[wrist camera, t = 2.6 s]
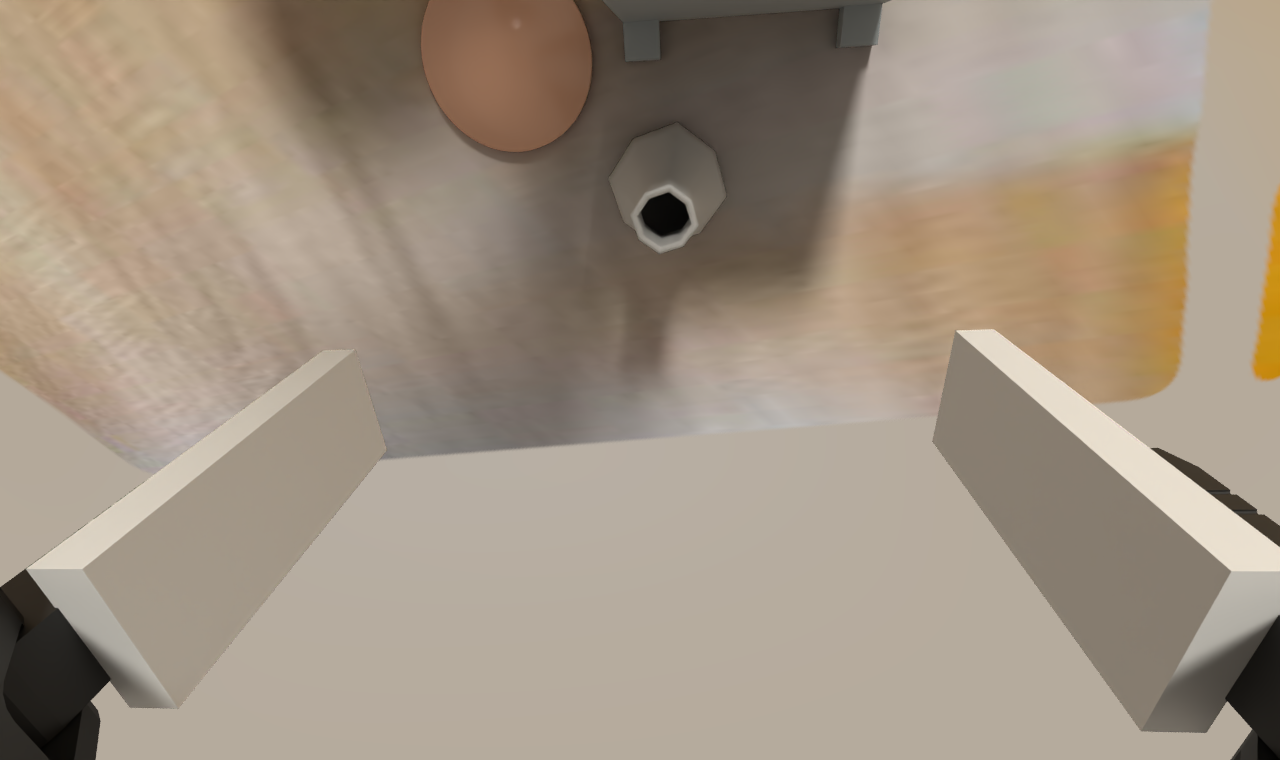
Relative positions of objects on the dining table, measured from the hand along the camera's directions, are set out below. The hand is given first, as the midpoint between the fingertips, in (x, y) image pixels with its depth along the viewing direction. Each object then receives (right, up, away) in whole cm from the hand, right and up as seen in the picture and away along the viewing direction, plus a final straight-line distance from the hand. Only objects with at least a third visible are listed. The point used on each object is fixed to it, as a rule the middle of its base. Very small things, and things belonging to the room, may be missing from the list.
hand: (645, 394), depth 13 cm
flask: (+2, +13, +24) cm, 27 cm away
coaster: (-8, +19, +21) cm, 29 cm away
